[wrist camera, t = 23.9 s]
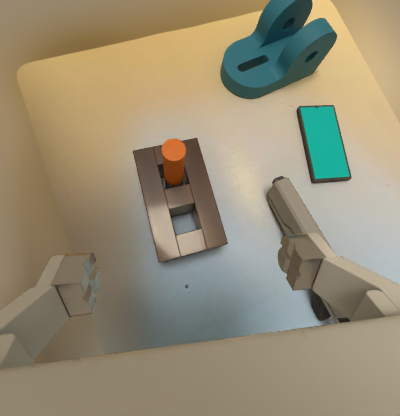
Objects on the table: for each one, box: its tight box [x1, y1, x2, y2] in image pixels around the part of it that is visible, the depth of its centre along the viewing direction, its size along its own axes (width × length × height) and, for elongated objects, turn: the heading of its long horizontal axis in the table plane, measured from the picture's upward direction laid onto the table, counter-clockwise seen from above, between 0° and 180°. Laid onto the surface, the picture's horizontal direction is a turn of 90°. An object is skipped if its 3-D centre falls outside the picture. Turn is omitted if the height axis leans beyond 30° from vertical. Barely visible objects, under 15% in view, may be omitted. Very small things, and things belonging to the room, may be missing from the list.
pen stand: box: [133, 138, 228, 263], centre depth 38 cm, size 10×17×6 cm, turn 15°
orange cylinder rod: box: [162, 139, 186, 189], centre depth 35 cm, size 3×3×14 cm
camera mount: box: [221, 0, 337, 99], centre depth 44 cm, size 18×10×10 cm, turn 119°
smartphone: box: [297, 105, 351, 183], centre depth 46 cm, size 7×1×15 cm
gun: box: [268, 176, 351, 323], centre depth 38 cm, size 2×25×10 cm, turn 20°
